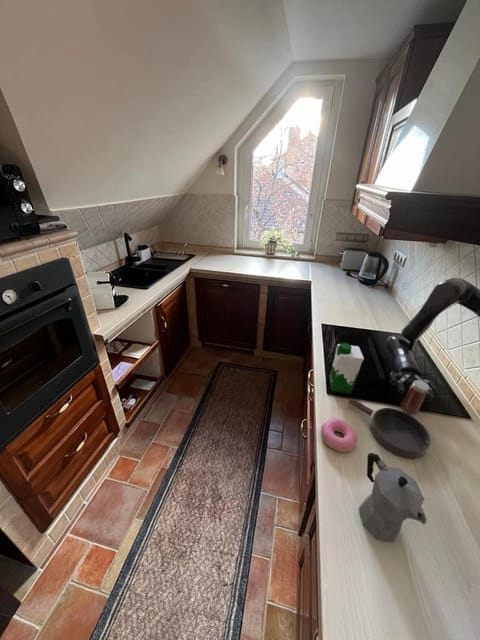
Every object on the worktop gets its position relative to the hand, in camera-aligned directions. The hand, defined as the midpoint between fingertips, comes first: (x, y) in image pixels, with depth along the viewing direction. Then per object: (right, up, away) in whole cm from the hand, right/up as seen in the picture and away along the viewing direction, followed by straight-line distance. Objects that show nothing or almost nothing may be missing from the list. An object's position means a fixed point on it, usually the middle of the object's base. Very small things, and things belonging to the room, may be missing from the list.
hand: (416, 396), depth 89 cm
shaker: (0, -6, +4) cm, 7 cm away
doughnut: (-30, -12, -7) cm, 33 cm away
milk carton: (-22, 0, +13) cm, 25 cm away
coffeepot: (-28, -22, -25) cm, 44 cm away
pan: (-10, -11, -6) cm, 16 cm away
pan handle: (-19, -4, +1) cm, 20 cm away
